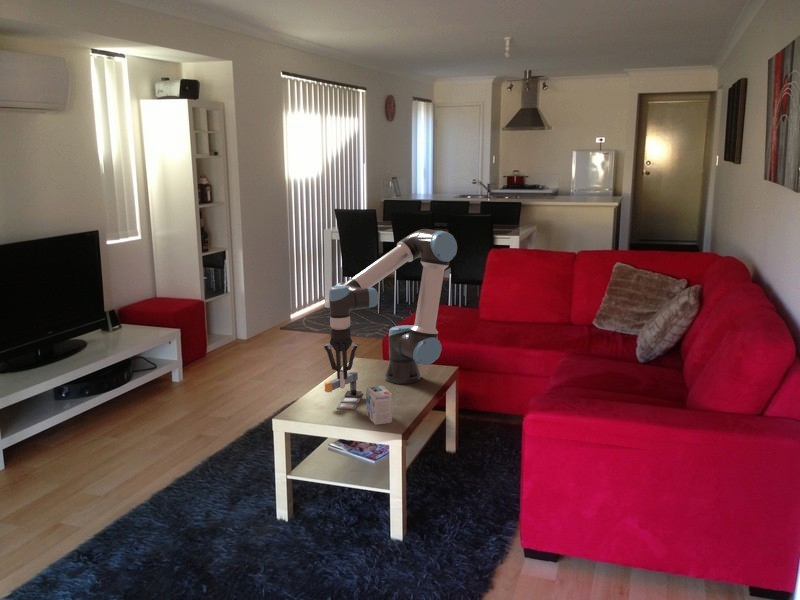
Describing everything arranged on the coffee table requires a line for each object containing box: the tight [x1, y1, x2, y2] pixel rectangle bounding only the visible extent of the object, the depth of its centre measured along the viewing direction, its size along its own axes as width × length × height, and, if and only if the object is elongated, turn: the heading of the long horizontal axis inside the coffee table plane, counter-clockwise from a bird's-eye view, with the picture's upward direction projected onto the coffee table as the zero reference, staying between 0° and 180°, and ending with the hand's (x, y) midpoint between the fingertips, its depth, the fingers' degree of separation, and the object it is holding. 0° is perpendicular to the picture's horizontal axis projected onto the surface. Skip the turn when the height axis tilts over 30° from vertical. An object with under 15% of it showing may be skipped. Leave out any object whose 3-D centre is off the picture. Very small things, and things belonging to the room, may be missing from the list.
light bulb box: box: [365, 385, 393, 426], centre depth 253 cm, size 11×7×11 cm, turn 21°
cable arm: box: [324, 371, 359, 393], centre depth 271 cm, size 4×19×3 cm, turn 147°
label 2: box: [336, 403, 358, 411], centre depth 267 cm, size 7×5×1 cm
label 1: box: [340, 397, 362, 404], centre depth 273 cm, size 7×5×1 cm
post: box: [344, 381, 363, 398], centre depth 279 cm, size 6×6×6 cm
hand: (342, 387), depth 269 cm, fingers closed
